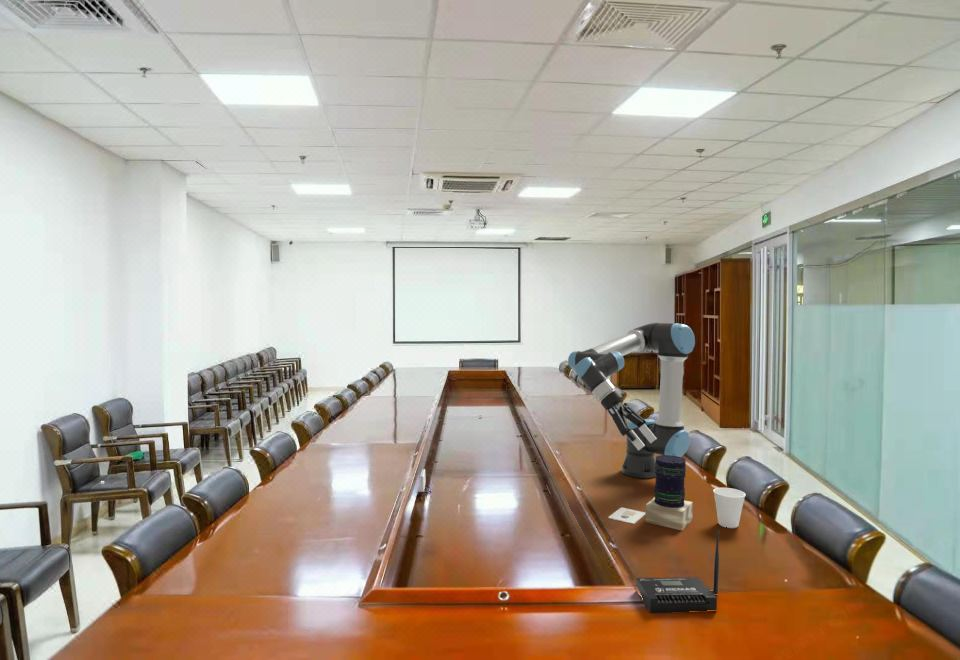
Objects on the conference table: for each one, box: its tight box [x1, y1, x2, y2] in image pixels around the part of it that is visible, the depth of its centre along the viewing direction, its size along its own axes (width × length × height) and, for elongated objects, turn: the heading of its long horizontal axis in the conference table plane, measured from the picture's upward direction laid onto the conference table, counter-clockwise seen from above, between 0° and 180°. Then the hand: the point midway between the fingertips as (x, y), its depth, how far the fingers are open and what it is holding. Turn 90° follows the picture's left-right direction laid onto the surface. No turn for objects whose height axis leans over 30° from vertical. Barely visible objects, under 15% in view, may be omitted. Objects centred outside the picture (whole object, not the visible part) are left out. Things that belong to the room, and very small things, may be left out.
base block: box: [644, 497, 694, 531], centre depth 197 cm, size 12×12×6 cm
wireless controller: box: [635, 529, 720, 614], centre depth 143 cm, size 20×14×17 cm
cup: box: [712, 487, 747, 529], centre depth 193 cm, size 10×10×11 cm
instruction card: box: [607, 506, 646, 525], centre depth 201 cm, size 12×9×1 cm
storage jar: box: [653, 454, 687, 508], centre depth 196 cm, size 10×10×15 cm
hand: (648, 444), depth 200 cm, fingers open, 13 cm apart
